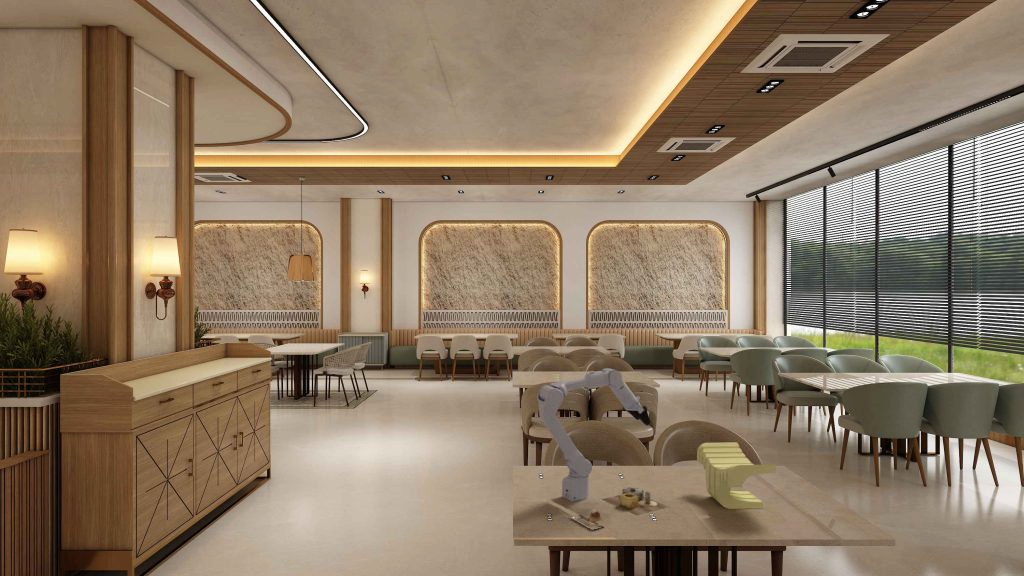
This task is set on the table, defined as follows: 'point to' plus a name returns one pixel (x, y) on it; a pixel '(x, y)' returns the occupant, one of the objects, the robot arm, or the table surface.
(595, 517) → the dessert
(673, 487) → the table surface
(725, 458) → the slatted curved stool
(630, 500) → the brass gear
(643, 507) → the gear board
